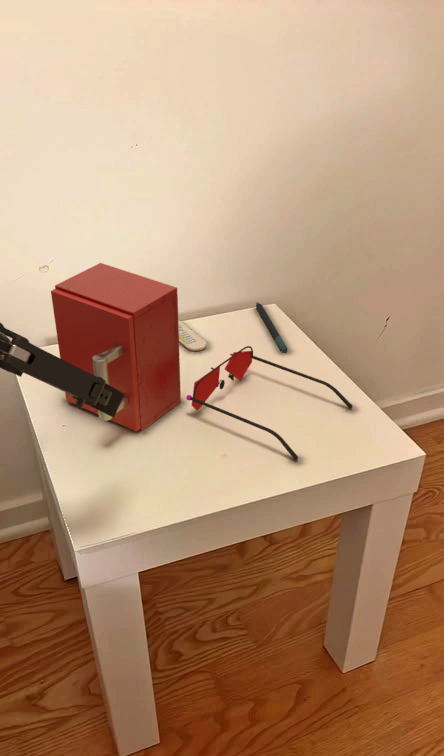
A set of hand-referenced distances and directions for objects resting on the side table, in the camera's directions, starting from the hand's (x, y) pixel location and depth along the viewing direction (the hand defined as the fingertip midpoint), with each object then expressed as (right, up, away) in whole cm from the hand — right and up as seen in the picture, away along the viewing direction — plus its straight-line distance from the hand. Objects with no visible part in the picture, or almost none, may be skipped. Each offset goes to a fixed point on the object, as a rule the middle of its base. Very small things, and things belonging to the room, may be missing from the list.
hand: (68, 384), depth 83 cm
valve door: (0, -3, +13) cm, 13 cm away
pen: (+19, +15, +39) cm, 46 cm away
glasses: (+22, -2, +16) cm, 28 cm away
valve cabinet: (+4, 0, +18) cm, 18 cm away
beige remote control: (+11, +11, +31) cm, 35 cm away
